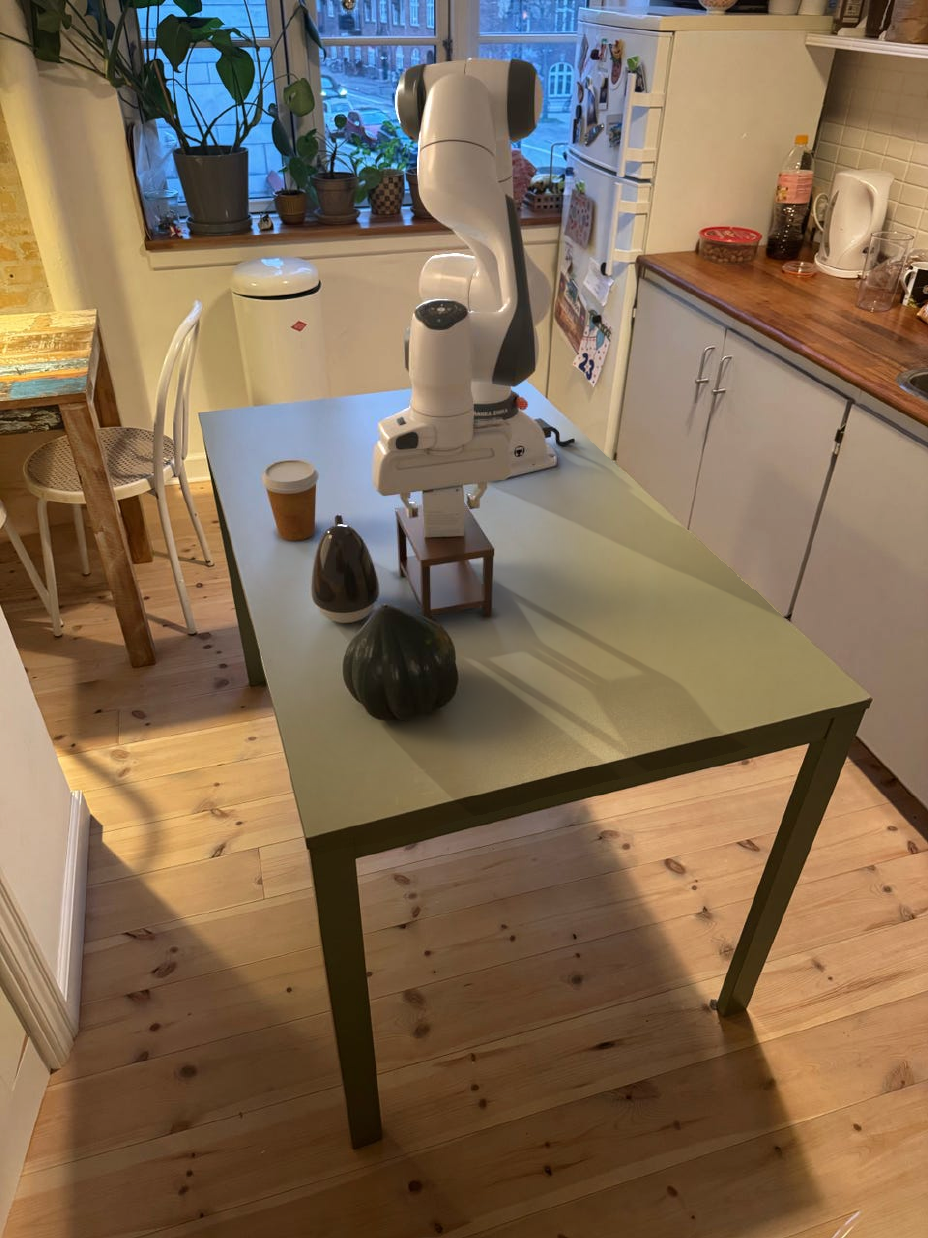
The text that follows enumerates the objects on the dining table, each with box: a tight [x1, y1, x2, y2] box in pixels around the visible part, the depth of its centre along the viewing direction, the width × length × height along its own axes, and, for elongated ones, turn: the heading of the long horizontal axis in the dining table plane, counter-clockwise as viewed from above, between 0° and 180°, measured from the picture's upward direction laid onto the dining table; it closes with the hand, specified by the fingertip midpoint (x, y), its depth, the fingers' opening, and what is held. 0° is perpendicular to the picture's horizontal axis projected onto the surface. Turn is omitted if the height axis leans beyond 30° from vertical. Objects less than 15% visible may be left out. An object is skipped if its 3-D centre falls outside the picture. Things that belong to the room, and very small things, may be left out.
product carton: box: [421, 485, 465, 538], centre depth 131 cm, size 6×6×7 cm
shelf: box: [394, 501, 495, 620], centre depth 136 cm, size 11×16×12 cm
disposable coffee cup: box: [261, 458, 319, 542], centre depth 152 cm, size 10×10×12 cm
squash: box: [342, 603, 459, 721], centre depth 116 cm, size 14×15×15 cm
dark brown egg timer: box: [310, 514, 381, 624], centre depth 131 cm, size 10×10×15 cm
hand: (443, 511), depth 131 cm, fingers open, 8 cm apart
